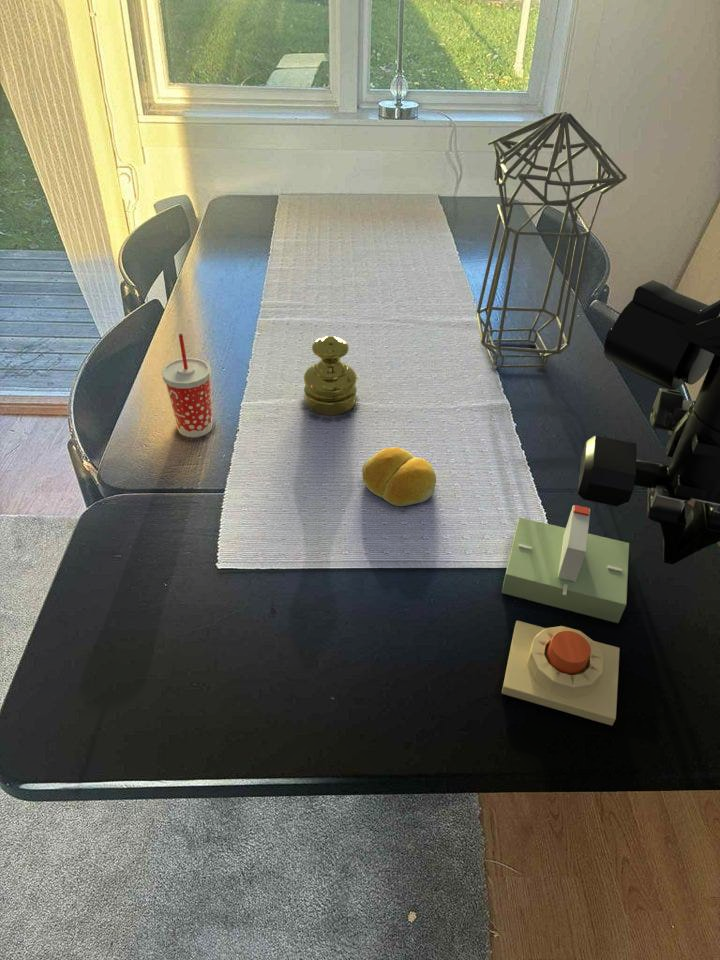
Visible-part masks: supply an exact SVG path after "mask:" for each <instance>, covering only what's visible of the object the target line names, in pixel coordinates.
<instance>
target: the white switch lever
mask: <svg viewBox="0 0 720 960" xmlns="http://www.w3.org/2000/svg"><path fill="white" fill-rule="evenodd" d="M590 518H591V508H590V507H587V506H582V505H577V504H573V505H572V506H571V510H570V514H569V517H568V519H567V520H568V521H567V523H566V525H565V528H566V530H565V533H564V537H563V544H562V551H561V558H560V565H559V572H558V578H561V579H565V580H569V581H573V582H576V579H577V576H578V573H579V571H580V568H581V565H582V562H583V559H584V556H585V553H586V547H587V538H588V534H589V527H590Z"/></svg>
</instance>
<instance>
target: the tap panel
mask: <svg viewBox="0 0 720 960" xmlns="http://www.w3.org/2000/svg"><path fill="white" fill-rule="evenodd" d="M565 530H566V527H562V526H559V525H555V524H550V523H545V522H541V521H536V520H532V519H528V518H524V517H520V516H519V517H518V518H517V523H516V526H515V531H514V535H513V539H512V542H511V543H512V544H511V548H510V552H509V556H508V562H507V566H506V570H505V575H504V579H503V583H502V588H501V594H504V595H508V596H512V597H515V598H519V599H524V600H528V601H532V602H535V603H538V604H541V605H542V604H543V605H546V606H550V607H554V608H558V609H562V610H566V611H569V612H572V613H577V614H580V615H585V616H589V617H591V618H597V619H600V620H603V621H608V622H611V623H615V624H619V623H620V620H621V618H622V616H623V614H624V611H625V608H626V607H627V602H628V601H627V599H628V577H629V558H630V557H629V556H630V542H626V541H622V540H617V539H613V538H609V537H604V536H600V535H596V534H593V533H588V538H587V547H586V553H585V556H584V559H583V562H582V565H581V568H580V571H579V573H578V576H577V579H576V582H573V581H569V580H565V579H561V578H558V572H559V565H560V558H561V551H562V544H563V537H564V533H565Z"/></svg>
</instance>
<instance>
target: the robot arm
mask: <svg viewBox="0 0 720 960" xmlns="http://www.w3.org/2000/svg"><path fill="white" fill-rule="evenodd" d="M603 353H604V357H605V358H606V360H608V361H610V362H612V363H614V364H615V365H618V366H619V367H621V368H623V369H626V370H628V371H630V372H632V373H634V374H635V375H637V376H640V377H642V378H644V379H646V380H648V381H650V382H652V383H654V384H656V385H658V386H660V388H659V389H658V392H657V395H656V396H655V400H654V402H653V405H652V409H651V412H650V415H649V422H650V425H651V427H652V428H654V429H659V430H664V431H668V432H667V435H668V437H669V440H668V442H667V445H666V447H665V448H666V451H665V453H666V454H665V455H666V457H667V458H671V460H670V462H669V464H668V465H667V464H662V463H656V462H652V461H647V460H642V459H637V443H636V442H631V441H626V440H620V439H615V438H610V437H604V436H600V435H594V436H591V438H589V439H587V441H585V443H584V447H583V450H582V453H581V456H580V466H579V476H578V485H577V495H578V496H579V497H580V498H582V500H584V501H589V502H592V503H597V504H602V505H608V506H613V507H619V506H622V505H624V504H626V503H629V502H630V501H631V498H632V496H633V493H634V489H635V486H637V487H642V488H646V517H647V518H648V520H650V521H652V522H656V523H658V524H659V527H660V529H661V534H662V560H663V563H664V564H668V565H675V564H677V563H678V562H681V561H682V560H685V559H687V558H688V557H690V556H691V555H693V554H694V553H697V552H700V551H701V550H703V549H705V548H707V547H710V546H712V545H715V544H717V543H720V299H719V300H717V301H715V302H713V303H711V304H710V305H709V304H706V303H704V302H701V301H699V300H696V299H694V298H691V297H689V296H687V295H684V294H681V293H679V292H676V291H675V290H673V289H671V288H670V287H669V286H668V285H666V284H664V283H661V282H659V281H656V280H654V279H651V280H649V281H648V282H645V283H642V284H641V285H638V286H636V287H635V289H634V293H633V297H632V299H631V300H630V301H629V303H627V304H626V306H625V307H624V308H623V310H622V311H621V312H620V313H619V315H618V317H616V320H615V322H614V324H613V325H612V328H610V329H609V330H608V331H607V333H606V336H605V340H604V345H603ZM704 375H705V376H704ZM703 376H704V379H703V381H702V384H701V387H700V389H699V391H698V393H697V396H696V398H695V400H688V399H687V400H686V399H685V396H684V395H683V394H682V392H681V391H678V390H677V389H678V388H680V387H682V385H684V384H687V385H690V386H691V385H694V384H696V383H697V382H699V381H700V380H701V379H702V378H703ZM661 387H662V388H661ZM690 501H694V504H693V506H692V509H690V512H689V514H688V515H687V510H686V506H687V503H688V502H690Z"/></svg>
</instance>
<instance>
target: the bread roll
mask: <svg viewBox="0 0 720 960" xmlns="http://www.w3.org/2000/svg"><path fill="white" fill-rule="evenodd" d="M361 475H362V480H363V483H364V485H365V487H366V488H367V489H368V490H369V491H370V492H371V493H373V494H374V495H376V496H378V497H379V498H382V499H383V500H384V501H386V502H388V503H389V504H391V505H393V506H396V507H406V506H411V505H416V504H421V503H424V502H426V501H427V500H428V499H430V498H431V497H432V495H433V494H434V491H435V487H436V484H437V483H436V482H437V476H436V472H435V469H434V468H433V466H432V464H431V463H430V462H429V461H428V460H426V459H424V458H421V457H415V456H414V455H413V454H412V453H410V452H409V451H408V450H406V449H404V448H401V447H397V446H396V447H386V448H384V449H383V448H382V449H381V450H379V451H378V452H376V453H375V454H373V456H371V457H370V458H369V459H367V460H366V462H365V463H364V464H363V466H362V468H361Z"/></svg>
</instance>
